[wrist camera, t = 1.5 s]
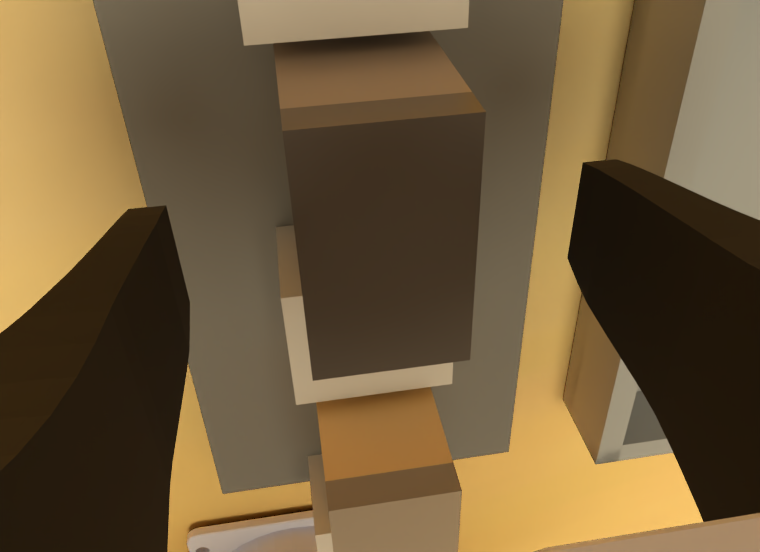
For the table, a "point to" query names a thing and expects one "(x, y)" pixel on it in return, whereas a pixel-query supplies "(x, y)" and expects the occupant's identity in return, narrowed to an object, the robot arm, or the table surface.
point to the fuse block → (275, 220)
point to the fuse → (389, 474)
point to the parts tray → (671, 176)
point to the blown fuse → (382, 199)
